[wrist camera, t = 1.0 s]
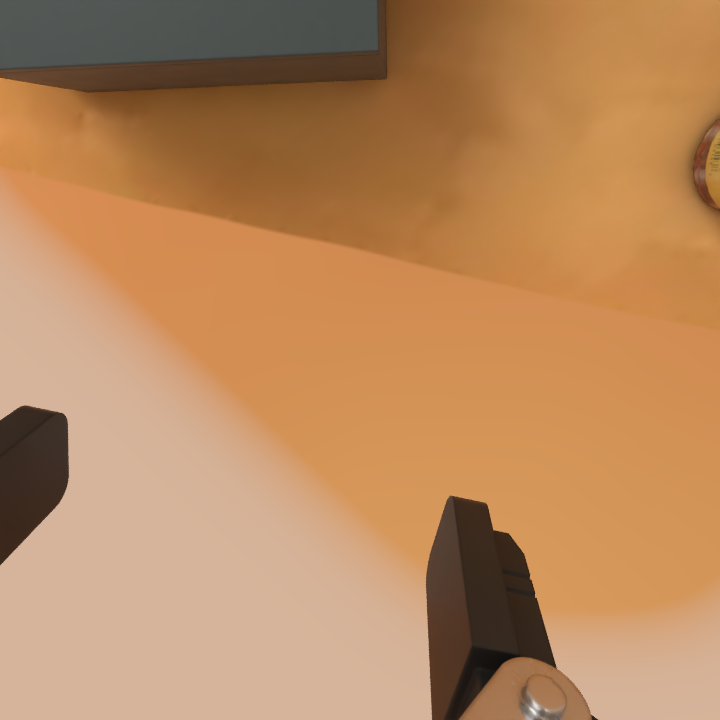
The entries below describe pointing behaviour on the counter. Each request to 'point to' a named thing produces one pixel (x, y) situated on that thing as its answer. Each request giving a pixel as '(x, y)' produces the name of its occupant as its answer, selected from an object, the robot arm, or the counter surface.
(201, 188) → the counter surface
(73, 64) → the cabinet
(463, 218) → the counter surface
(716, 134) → the sauce bottle
